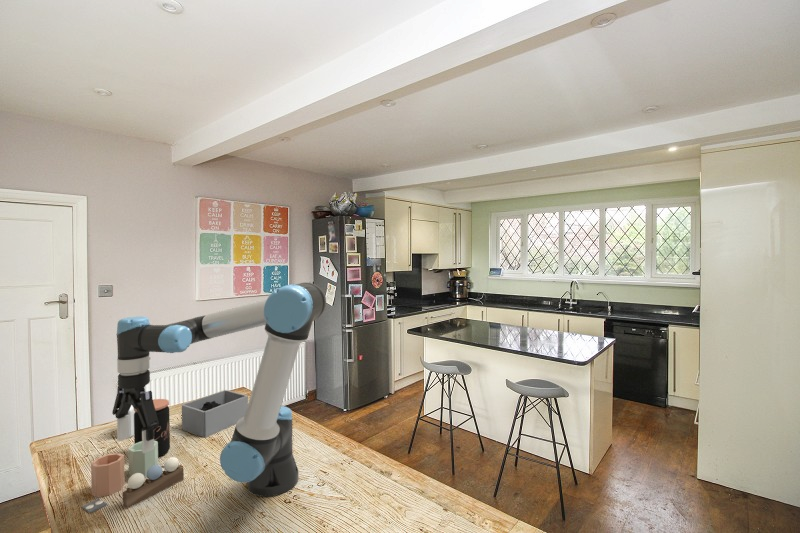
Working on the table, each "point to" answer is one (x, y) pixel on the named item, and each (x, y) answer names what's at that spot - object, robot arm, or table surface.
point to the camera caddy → (214, 413)
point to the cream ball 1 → (136, 480)
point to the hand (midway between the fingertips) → (135, 445)
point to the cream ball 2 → (171, 464)
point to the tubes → (118, 472)
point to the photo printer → (131, 421)
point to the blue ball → (154, 472)
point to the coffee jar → (159, 431)
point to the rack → (152, 487)
